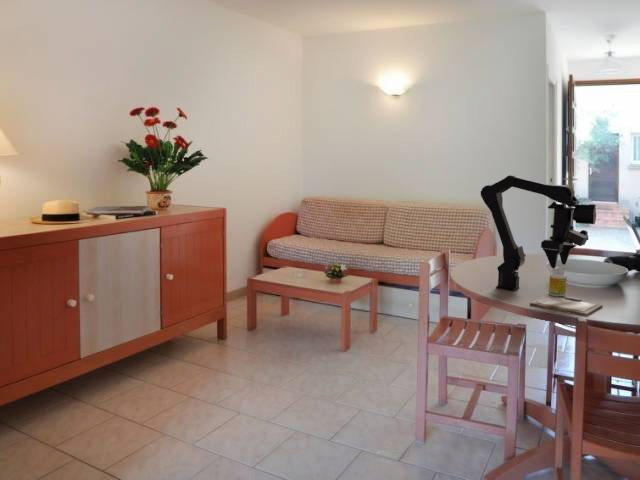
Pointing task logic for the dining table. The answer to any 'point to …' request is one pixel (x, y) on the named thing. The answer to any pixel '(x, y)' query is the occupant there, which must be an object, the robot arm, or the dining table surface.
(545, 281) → the dining table surface
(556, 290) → the supplement bottle
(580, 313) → the clipboard
